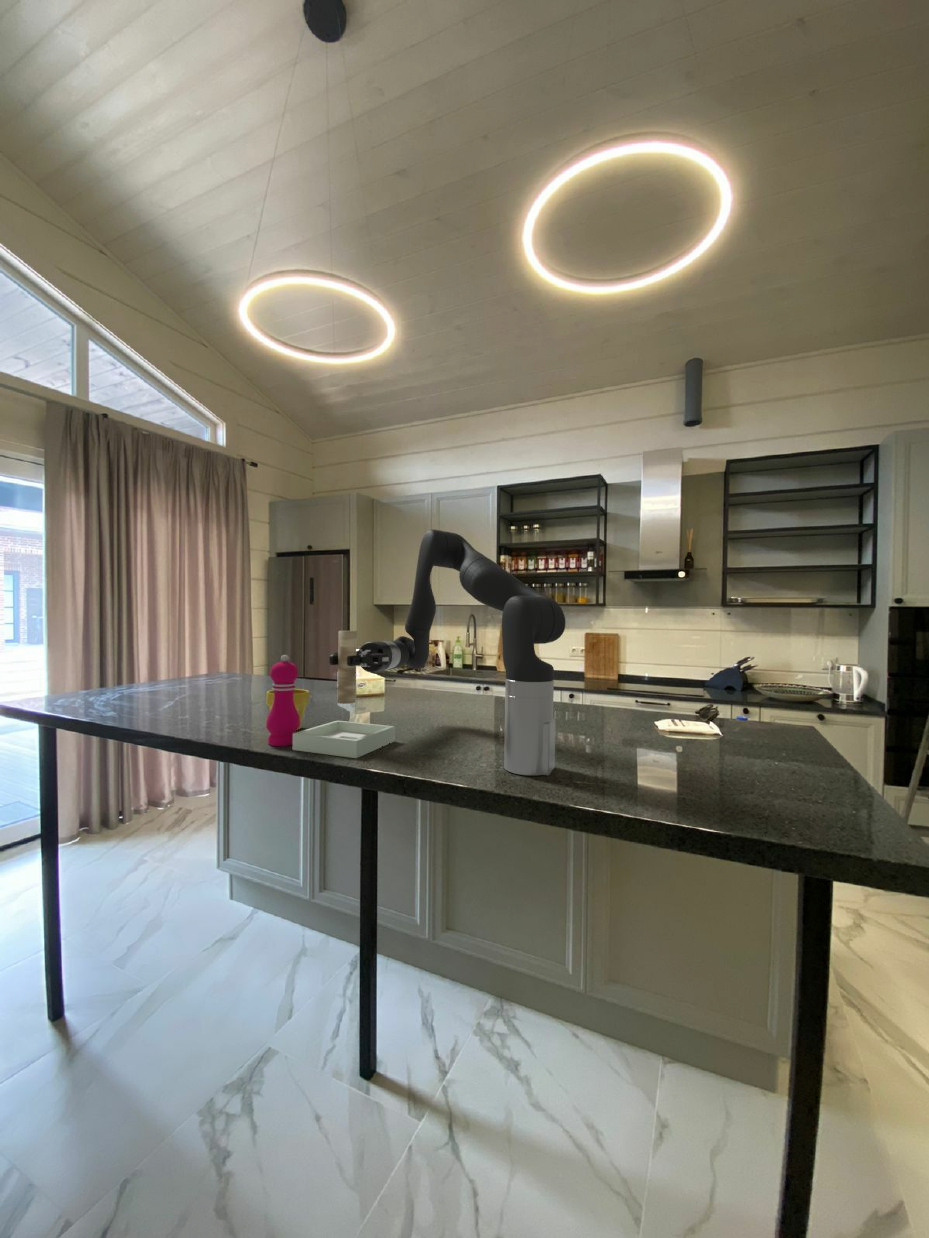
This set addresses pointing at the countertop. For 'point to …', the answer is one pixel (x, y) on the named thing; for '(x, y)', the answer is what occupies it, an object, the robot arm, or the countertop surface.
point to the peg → (346, 667)
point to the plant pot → (299, 701)
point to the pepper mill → (283, 704)
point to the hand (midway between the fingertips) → (340, 660)
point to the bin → (344, 738)
